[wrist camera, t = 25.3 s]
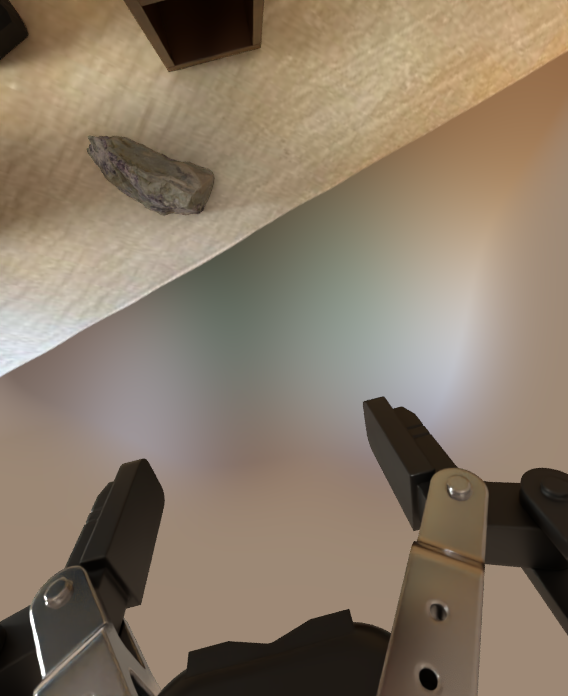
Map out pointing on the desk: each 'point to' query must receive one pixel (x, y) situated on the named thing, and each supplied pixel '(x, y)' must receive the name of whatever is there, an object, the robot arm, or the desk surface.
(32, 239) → the desk surface
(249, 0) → the shelf
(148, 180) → the mineral rock
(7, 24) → the portable radio
